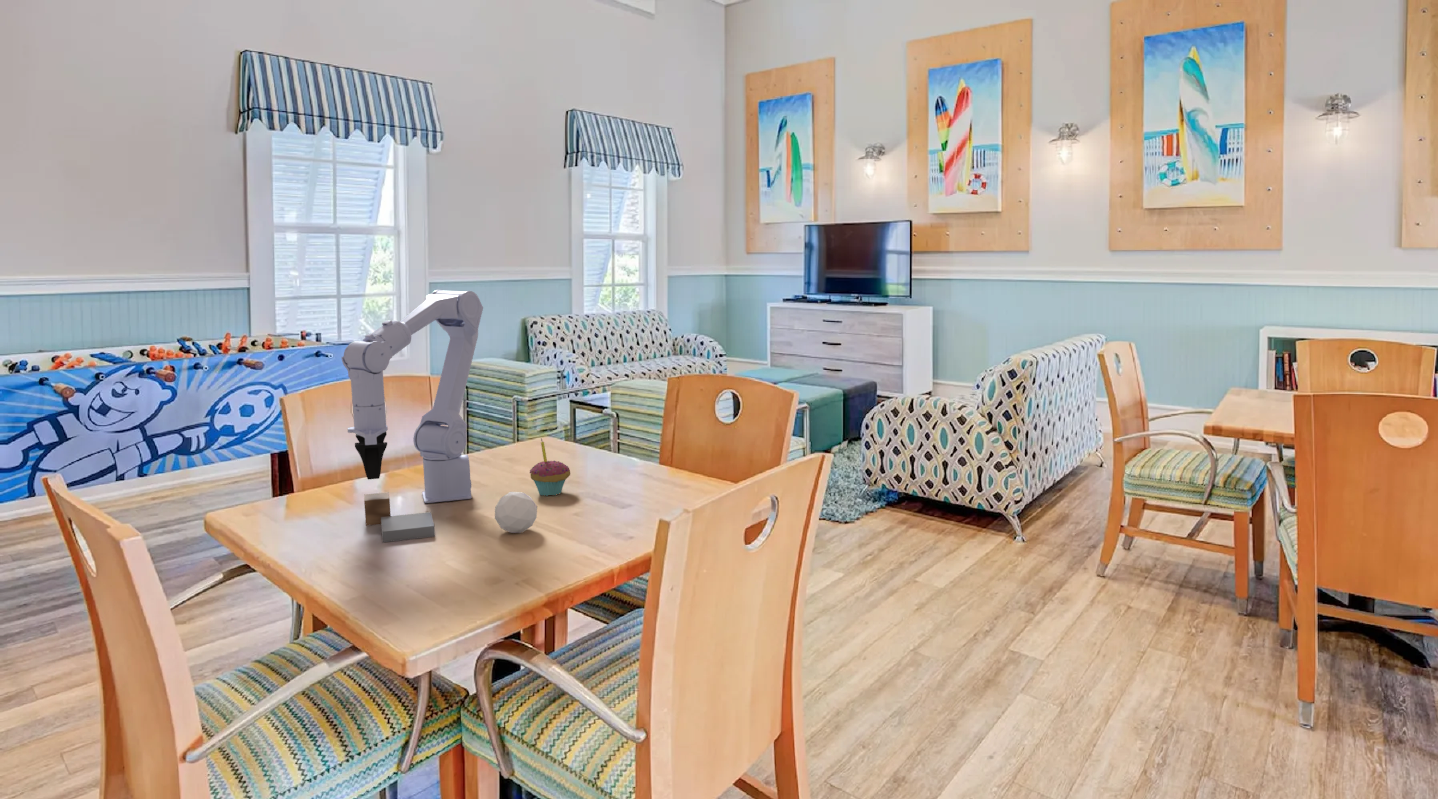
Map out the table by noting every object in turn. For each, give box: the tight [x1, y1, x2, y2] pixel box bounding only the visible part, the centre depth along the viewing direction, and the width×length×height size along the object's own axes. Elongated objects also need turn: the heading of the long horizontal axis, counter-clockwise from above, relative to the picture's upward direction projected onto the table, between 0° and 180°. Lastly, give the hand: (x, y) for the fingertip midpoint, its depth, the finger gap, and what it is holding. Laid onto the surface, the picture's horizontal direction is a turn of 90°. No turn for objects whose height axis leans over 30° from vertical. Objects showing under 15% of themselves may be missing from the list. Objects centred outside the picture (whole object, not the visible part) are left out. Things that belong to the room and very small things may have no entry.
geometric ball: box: [494, 491, 538, 534], centre depth 161 cm, size 8×8×8 cm
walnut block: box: [363, 491, 392, 527], centre depth 167 cm, size 4×4×5 cm
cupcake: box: [529, 438, 571, 497], centre depth 185 cm, size 9×8×12 cm
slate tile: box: [380, 511, 436, 543], centre depth 160 cm, size 9×9×2 cm
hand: (373, 473), depth 165 cm, fingers open, 7 cm apart
